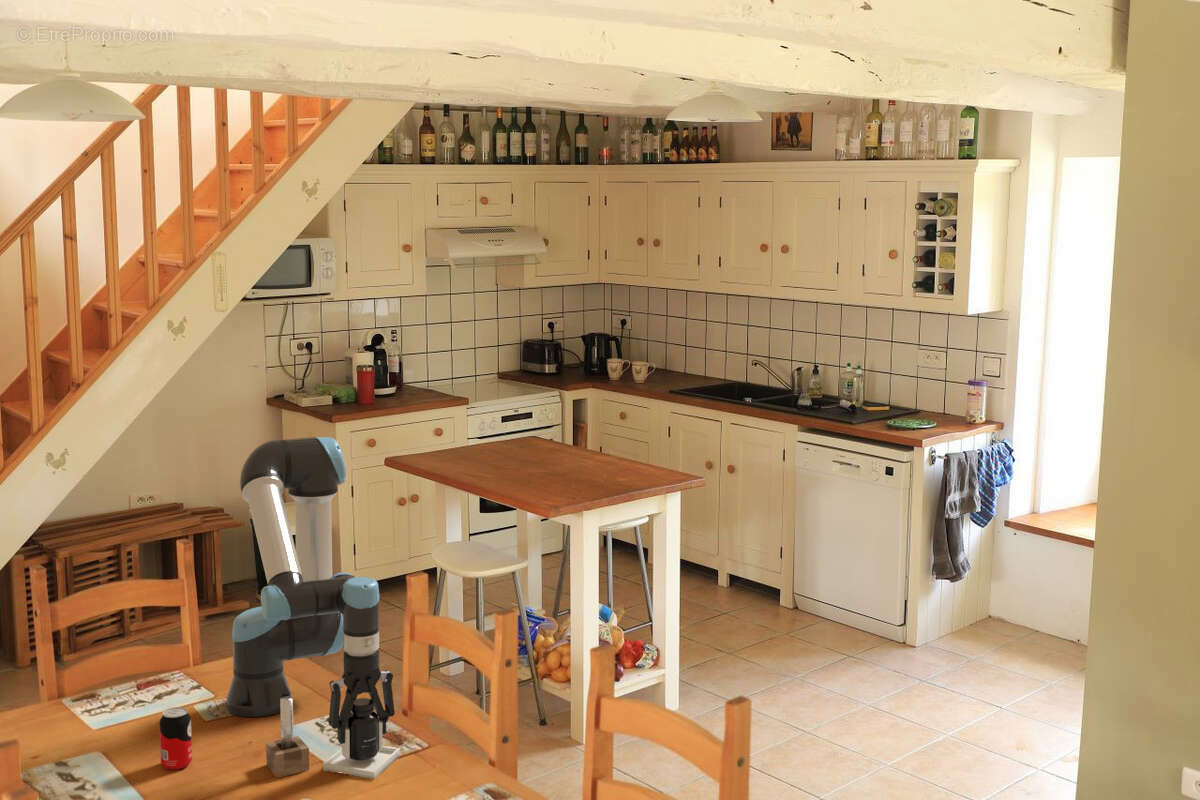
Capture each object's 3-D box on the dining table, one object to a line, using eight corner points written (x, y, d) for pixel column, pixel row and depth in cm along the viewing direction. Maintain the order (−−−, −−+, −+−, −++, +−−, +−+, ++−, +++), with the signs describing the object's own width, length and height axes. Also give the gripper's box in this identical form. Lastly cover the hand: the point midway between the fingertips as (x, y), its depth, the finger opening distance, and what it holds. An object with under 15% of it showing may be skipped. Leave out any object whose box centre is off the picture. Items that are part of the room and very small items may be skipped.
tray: (322, 770, 255) (322, 763, 255) (350, 747, 266) (350, 740, 266) (374, 779, 251) (374, 772, 251) (400, 755, 263) (400, 748, 263)
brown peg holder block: (266, 764, 257) (266, 742, 256) (298, 757, 261) (297, 735, 260) (276, 777, 251) (276, 755, 250) (309, 770, 255) (308, 747, 254)
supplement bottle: (371, 763, 254) (370, 709, 253) (341, 759, 256) (340, 706, 254) (383, 749, 261) (382, 697, 259) (354, 746, 262) (353, 694, 261)
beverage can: (174, 774, 252) (172, 720, 250) (154, 766, 255) (152, 713, 253) (198, 763, 257) (196, 710, 255) (179, 756, 260) (177, 703, 258)
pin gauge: (281, 763, 254) (280, 701, 252) (281, 758, 257) (280, 696, 255) (293, 762, 255) (292, 700, 253) (294, 757, 257) (293, 695, 255)
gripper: (323, 664, 247) (324, 769, 250) (411, 647, 257) (411, 748, 261) (310, 653, 253) (312, 755, 256) (397, 637, 264) (397, 736, 267)
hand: (362, 752), depth 258 cm, fingers closed on supplement bottle, 7 cm apart
